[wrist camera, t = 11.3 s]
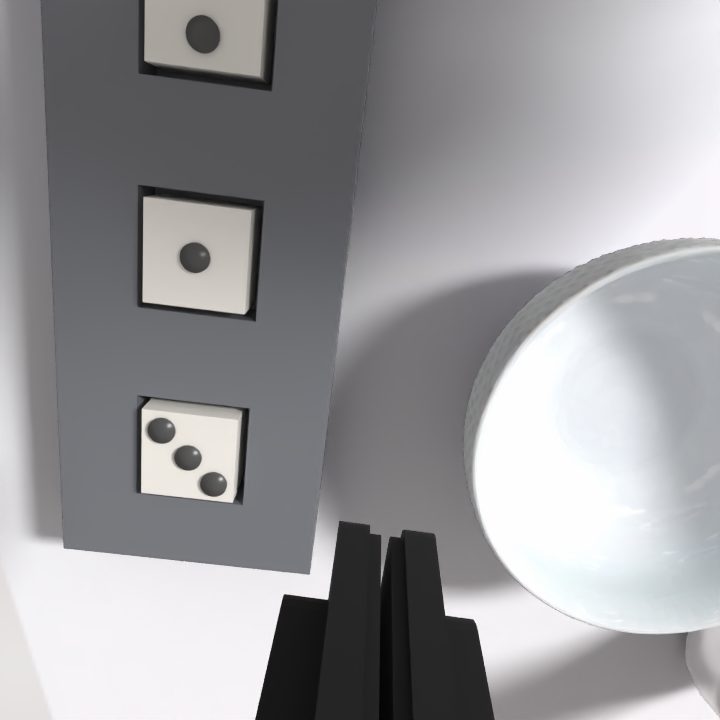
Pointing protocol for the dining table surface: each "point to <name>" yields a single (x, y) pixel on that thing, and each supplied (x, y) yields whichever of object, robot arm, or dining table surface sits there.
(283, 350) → the button panel
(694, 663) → the plastic bottle
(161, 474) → the button three dots
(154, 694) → the dining table surface
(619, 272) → the cereal bowl
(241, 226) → the button one dot
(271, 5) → the button two dots
